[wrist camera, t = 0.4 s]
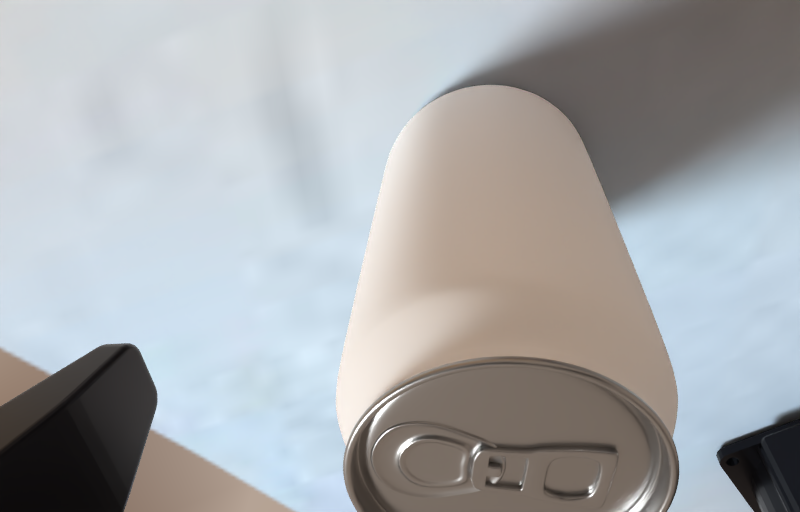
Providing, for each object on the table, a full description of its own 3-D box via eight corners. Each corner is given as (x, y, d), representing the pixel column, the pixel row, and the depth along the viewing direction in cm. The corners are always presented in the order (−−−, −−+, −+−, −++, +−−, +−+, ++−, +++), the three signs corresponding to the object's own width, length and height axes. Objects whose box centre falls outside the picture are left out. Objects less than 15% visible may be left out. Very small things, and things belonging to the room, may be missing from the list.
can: (388, 73, 19) (308, 322, 9) (605, 85, 19) (767, 357, 9) (385, 253, 23) (324, 575, 13) (568, 266, 22) (653, 607, 12)
